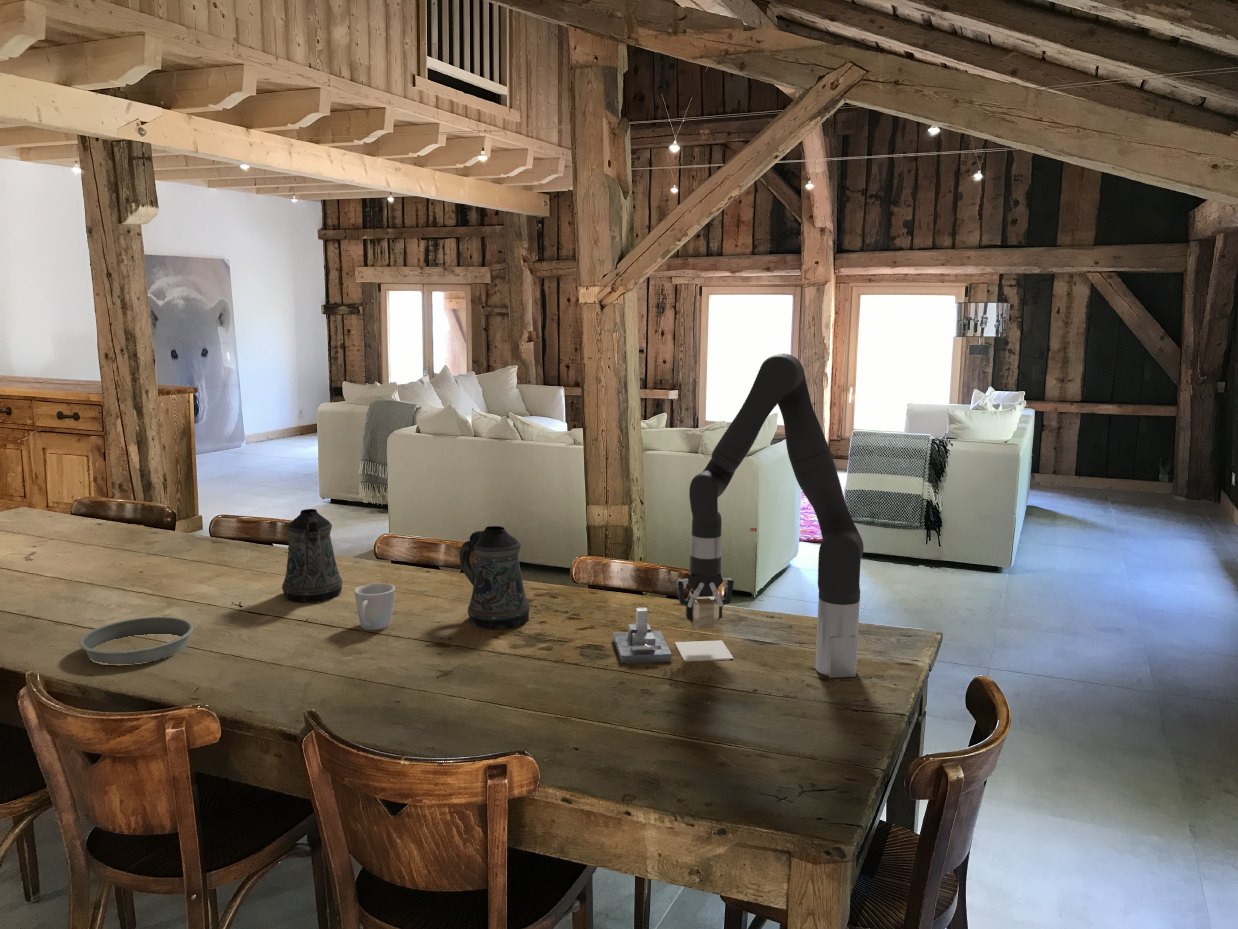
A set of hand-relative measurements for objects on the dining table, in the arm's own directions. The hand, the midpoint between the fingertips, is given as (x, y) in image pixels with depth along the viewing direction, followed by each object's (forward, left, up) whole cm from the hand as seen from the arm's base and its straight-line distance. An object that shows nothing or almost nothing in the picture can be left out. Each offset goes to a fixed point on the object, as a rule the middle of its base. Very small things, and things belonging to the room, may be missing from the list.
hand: (703, 620), depth 228 cm
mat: (0, 0, -8) cm, 8 cm away
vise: (+2, +15, -8) cm, 17 cm away
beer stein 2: (+29, +51, -8) cm, 59 cm away
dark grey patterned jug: (+55, +102, -8) cm, 116 cm away
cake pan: (+15, +136, -8) cm, 137 cm away
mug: (+25, +82, -8) cm, 86 cm away
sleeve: (0, 0, -1) cm, 1 cm away
